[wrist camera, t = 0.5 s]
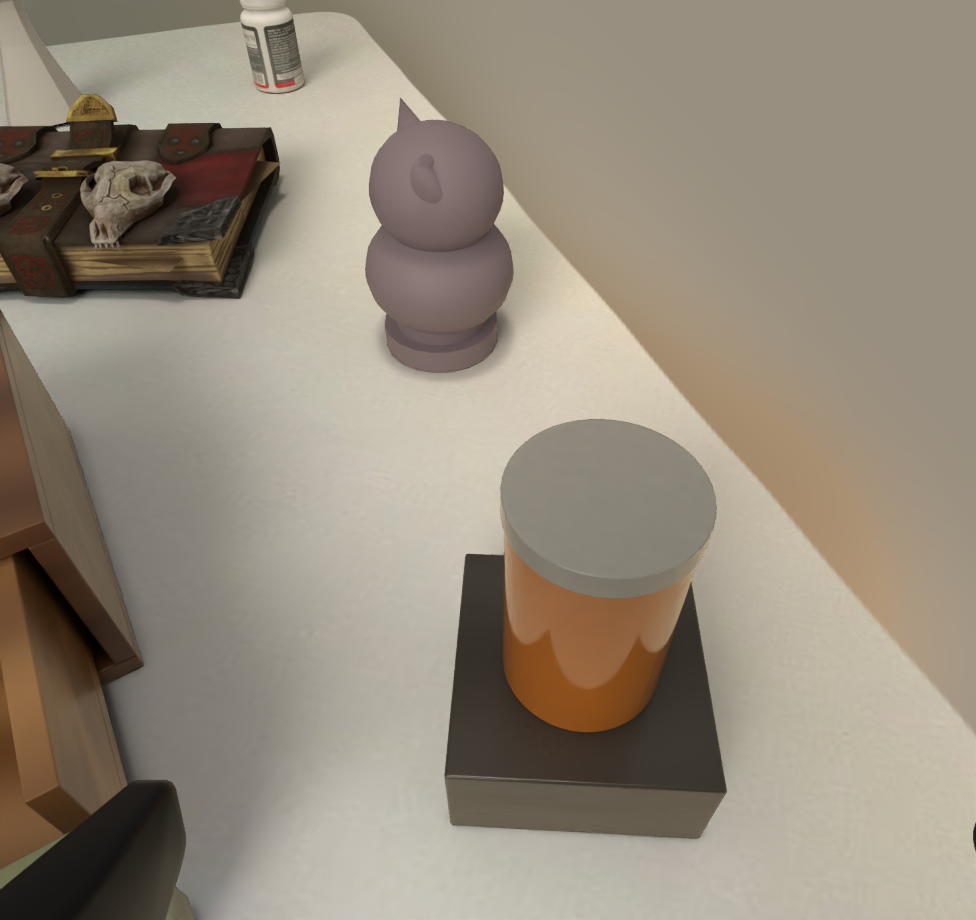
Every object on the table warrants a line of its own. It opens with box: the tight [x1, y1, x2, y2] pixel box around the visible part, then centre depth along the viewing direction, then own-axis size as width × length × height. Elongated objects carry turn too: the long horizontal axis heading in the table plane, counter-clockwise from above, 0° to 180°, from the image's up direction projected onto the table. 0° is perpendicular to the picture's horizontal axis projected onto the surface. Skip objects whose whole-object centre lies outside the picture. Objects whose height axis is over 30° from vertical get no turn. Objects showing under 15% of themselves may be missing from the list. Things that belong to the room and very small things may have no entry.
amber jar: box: [500, 419, 717, 732], centre depth 21 cm, size 5×5×8 cm
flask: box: [0, 0, 82, 126], centre depth 63 cm, size 7×7×10 cm
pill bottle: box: [240, 0, 304, 93], centre depth 69 cm, size 5×5×8 cm
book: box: [0, 94, 280, 298], centre depth 48 cm, size 26×18×7 cm
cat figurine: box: [365, 97, 513, 372], centre depth 38 cm, size 9×8×12 cm
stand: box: [444, 554, 727, 838], centre depth 25 cm, size 8×8×4 cm
